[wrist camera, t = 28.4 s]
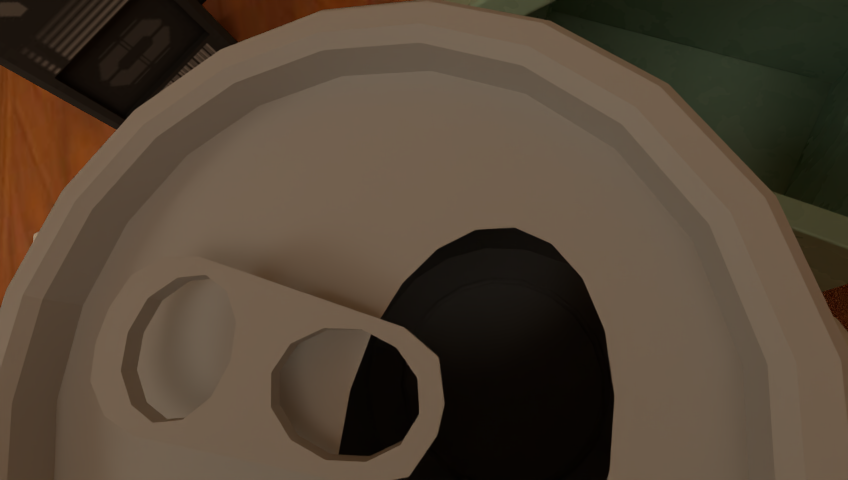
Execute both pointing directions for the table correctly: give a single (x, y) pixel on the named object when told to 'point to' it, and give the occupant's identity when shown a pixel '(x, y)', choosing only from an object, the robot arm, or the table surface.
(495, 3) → the box lid
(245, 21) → the table surface
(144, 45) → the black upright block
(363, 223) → the can
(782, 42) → the green box
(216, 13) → the table surface
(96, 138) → the table surface
